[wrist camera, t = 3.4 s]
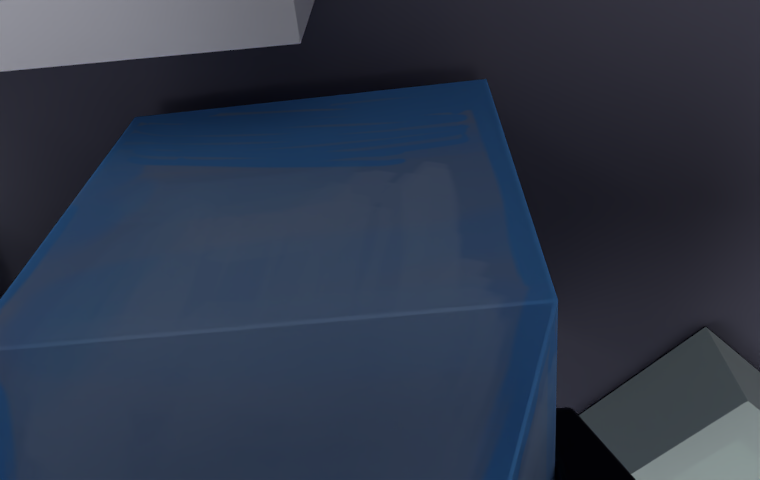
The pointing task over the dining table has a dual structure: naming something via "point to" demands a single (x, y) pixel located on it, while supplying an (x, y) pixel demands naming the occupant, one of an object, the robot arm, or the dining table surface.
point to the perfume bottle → (289, 302)
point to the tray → (685, 415)
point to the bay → (141, 29)
